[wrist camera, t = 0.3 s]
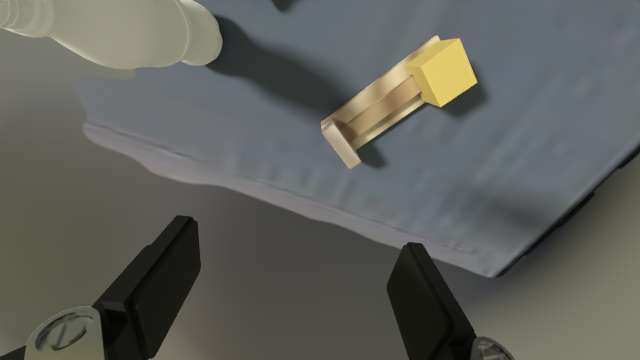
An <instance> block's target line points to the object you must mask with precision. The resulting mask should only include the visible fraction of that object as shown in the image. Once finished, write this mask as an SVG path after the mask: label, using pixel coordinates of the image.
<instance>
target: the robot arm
mask: <svg viewBox="0 0 640 360" xmlns="http://www.w3.org/2000/svg"><path fill="white" fill-rule="evenodd" d="M200 268H201V262H200V249H199V237H198V224H197V221H194V219H193V217H189V216H180V215H178V216H176V217H175V218H174V219H173V220H172V221H171V223H170V224H169V225H168V226H167V227H166V228H165V230H164V231H163V232H162V233H161V234H160V235H159V236H158V237H157V239H156V240H155V241H154V242H153V243H152V244H151V245H148V246H146V247H145V248H144V249H143V250H142V251H141V252H140V253H139V254H138V255H137V256H136V258H135V259H134V260H133V261H132V262H131V263H130V264H129V265H128V266H127V268H126V269H125V270H124V271H123V272H122V273H121V274H120V275H119V276H118V278H117V279H116V280H115V281H114V282H113V283H112V284H111V285H110V286H109V288H108V289H107V290H106V291H105V292H104V293H103V294H102V295H101V297H100V298H99V299H98V300H97V301H96V302H95V303H94V305H92V307H86V306H84V307H75V308H72V309H69V310H66V311H63V312H61V313H59V314H57V315H55V316H53V317H52V318H50V319H48V320H47V321H45V322H44V323H43V324H42V325H41V326H39V327H38V328H37V329H36V330H35V331H34V333H33V334H32V335H31V336H30V338H29V340H28V342H27V345H25V346H23V347H21V348H18V349H16V350H14V351H12V352H10V353H8V354H6V355H4V356H1V357H0V360H148V359H149V358H150V359H151V358H153V357H154V356H155V355H156V353H157V352H158V350H159V348H160V346H161V344H162V342H163V340H164V339H165V337H166V335H167V333H168V331H169V329H170V327H171V325H172V323H173V321H174V320H175V318H176V316H177V314H178V312H179V310H180V308H181V307H182V305H183V303H184V301H185V299H186V297H187V295H188V293H189V291H190V290H191V288H192V286H193V284H194V282H195V280H196V278H197V276H198V274H199V272H200ZM387 293H388V296H389V299H390V301H391V305H392V308H393V311H394V314H395V317H396V320H397V323H398V327H399V329H400V333H401V336H402V339H403V342H404V345H405V348H406V351H407V354H408V357H409V360H515V359H514V357H513V356H512V355H511V353H509V352H508V351H507V350H506V349H505V347H503V346H502V345H501V344H499V343H498V342H496V341H494V340H492V339H491V338H487V337H484V336H483V337H477V336H476V334H475V333H474V329H473V327H472V326H471V324H470V322H469V321H468V319H467V317H466V316H465V314H464V312H463V311H462V309H461V307H460V306H459V304H458V302H457V301H456V299H455V298H454V296H453V294H452V292H451V291H450V289H449V288H448V286H447V284H446V282H445V281H444V279H443V277H442V276H441V274H440V272H439V271H438V269H437V267H436V266H435V264H434V262H433V261H432V259H431V257H430V256H429V254H428V252H427V251H426V249H425V247H424V246H423V245H422V244H421V243H413V242H408V243H407V245H404V246H403V248H402V250H401V253H400V255H399V258H398V260H397V262H396V264H395V267H394V269H393V271H392V274H391V276H390V278H389V281H388V283H387Z"/></svg>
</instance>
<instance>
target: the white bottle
mask: <svg viewBox="0 0 640 360" xmlns="http://www.w3.org/2000/svg"><path fill="white" fill-rule="evenodd" d="M0 29H6V30H9V31H12V32H15V33H18V34H21V35H25V36H28V37H44V36H49V37H51V38H53V39H54V40H56V41H57V42H59V43H60V44H62V45H63V46H65V47H67V48H68V49H70V50H72V51H74V52H75V53H77V54H79V55H80V56H82V57H84V58H86V59H88V60H90V61H93V62H95V63H97V64H100V65H104V66H107V67H111V68H117V69H135V68H139V67H166V66H170V65H172V64H174V63H176V62H178V61H183V62H184V63H187V64H189V65H194V66H201V65H206V64H208V63H210V62H211V61H213V60H215V59H216V58H217V57H218V55H219V54H220V51H221V49H222V43H223V40H222V36H221V34H220V31H219V25H218V22H217V21H216V19H215V18H214V16H213V15H212V14H211V13H210V12H209V11H208V10H207V9H206V8H205V7H203V6H202V5H200V4H199V3H197V2H195V1H192V0H0Z"/></svg>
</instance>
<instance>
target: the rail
mask: <svg viewBox="0 0 640 360" xmlns="http://www.w3.org/2000/svg"><path fill="white" fill-rule="evenodd" d="M437 41H440V39H439V37H438V36H434V37H432V38H431V39H430V40H428V41H427V42H426V43H425V44H423V45H422V46H421V47H419V48H418V49H417V50H415V51H414V52H413V53H411V54H410V55H409V56H407V57H406V58H405V59H403V60H402V61H401V62H400V63H398V64H397V65H396V66H394V67H393V68H392V69H390V70H389V71H388V72H386V73H385V74H384V75H382V76H381V77H380V78H379V79H377V80H376V81H375V82H373V83H372V84H371V85H369V86H368V87H367V88H365V89H364V90H363V91H361V92H360V93H359V94H358V95H356V96H355V97H354V98H352V99H351V100H350V101H348V102H347V103H346V104H344V105H343V106H342V107H340V108H339V109H338V110H336V111H335V112H334V113H333V114H331V115H330V116H329V117H327V118H326V119H325V120H323V121H322V122H321V128H322V133H323V135H324V136H325V137H326V139H327V140H328V141H329V143H330V144H331V145H332V146H333V148H334V149H335V150H336V152H337V153H338V154H339V156H340V157H341V158H342V160H343V161H344V162H345V163H346V165H347V166H348V167H349V169H351V168H353V167H354V166H356V165H357V164H359V163H360V162H361V160H360V158H359V156H358V154H357V152H356V150H357V149H358V148H360V147H361V146H362V145H364V144H365V143H367V142H368V141H370V140H371V139H373V138H374V137H375V136H377V135H378V134H380V133H381V132H383V131H384V130H386V129H387V128H389V127H390V126H391V125H393V124H394V123H396V122H397V121H399V120H400V119H402V118H403V117H404V116H406V115H407V114H409V113H410V112H412V111H413V110H415V109H416V108H417V107H419V106H420V105H422V104H423V103H425V101H423V100H422V98H421V96H420V94H419V93H420V92H421V89H420V87H419V85H418V83H417V82H416V80H415V78H414V76H413V75H410V74H409V73H408V71H407V69H406V67H405V65H406V64H408V63H409V62H410V61H412V60H413V59H414V58H416V57H417V56H418V55H420V54H421V53H422V52H424V51H425V50H426V49H428V48H429V47H430V46H432V45H433V44H434V43H436V42H437Z"/></svg>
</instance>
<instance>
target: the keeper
mask: <svg viewBox="0 0 640 360" xmlns="http://www.w3.org/2000/svg"><path fill="white" fill-rule="evenodd" d="M405 67H406V69H407V71H408V73H409V74H410V75H413V76H414V78H415V80H416V82H417V83H418V85H419V87H420V89H421V92H420V93H419V94H420V96H421V98H422V100H423V101H425V102H428V103H430V104H433V105H436V106H438V107H442V106H443V105H445V104H446V103H448V102H449V101H451V100H452V99H454V98H455V97H457V96H458V95H460V94H461V93H463V92H464V91H466V90H467V89H469V88H470V87H471V86H473V85H474V84H476V83H477V80H476V78H475V75H474V73H473V70H472V68H471V65H470V63H469V61H468V58H467V56H466V53H465V51H464V48H463V46H462V43H461V41H460V38H457V39H450V40H443V41H437V42H436V43H434V44H433V45H432V46H430V47H429V48H428V49H426V50H425V51H424V52H422V53H421V54H420V55H418V56H417V57H416V58H414V59H413V60H412V61H410V62H409V63H408V64H406V65H405Z"/></svg>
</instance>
